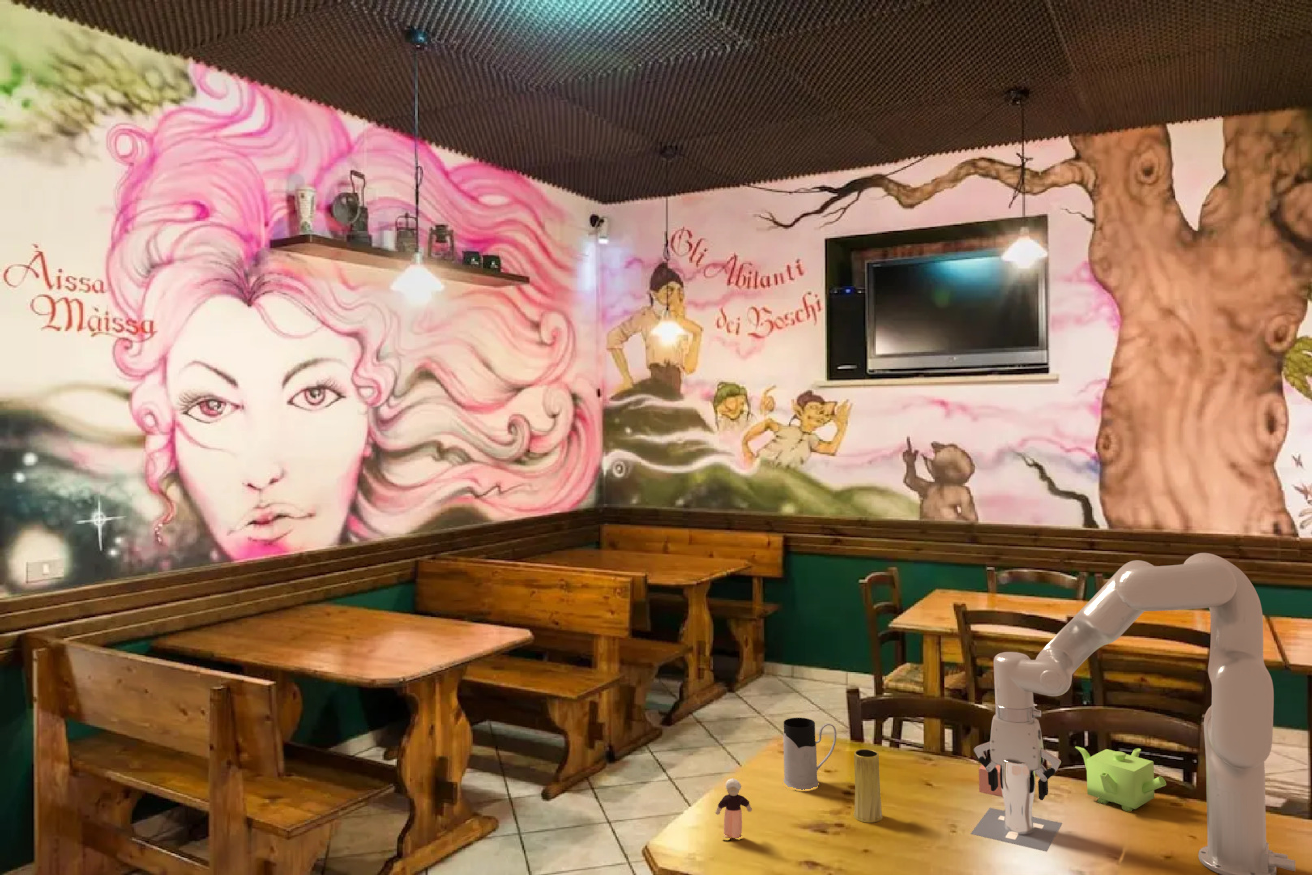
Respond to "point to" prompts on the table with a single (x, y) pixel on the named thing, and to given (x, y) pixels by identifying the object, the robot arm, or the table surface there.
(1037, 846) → the board
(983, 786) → the block
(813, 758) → the grey and black mug
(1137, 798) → the kettle
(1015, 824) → the beer glass
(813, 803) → the table surface
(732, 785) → the grandmother figurine
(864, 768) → the vase
